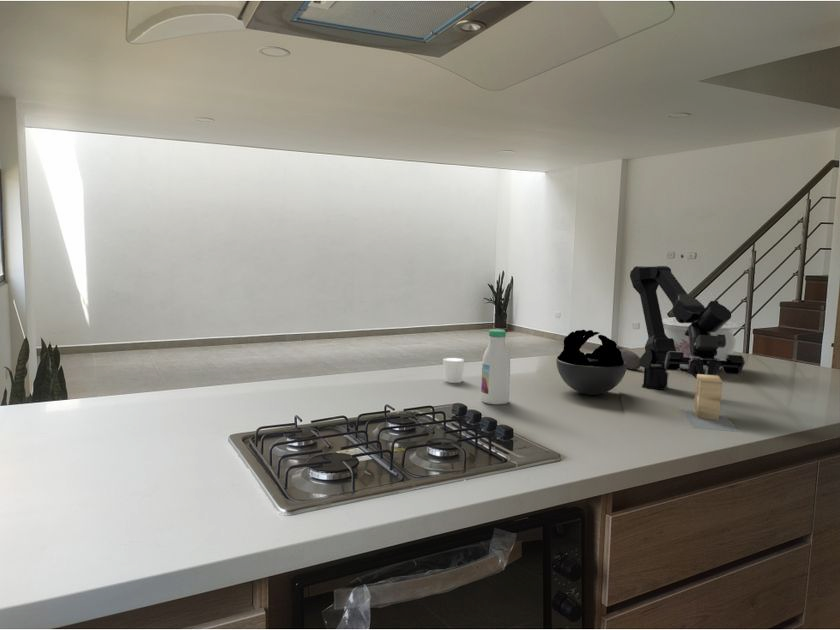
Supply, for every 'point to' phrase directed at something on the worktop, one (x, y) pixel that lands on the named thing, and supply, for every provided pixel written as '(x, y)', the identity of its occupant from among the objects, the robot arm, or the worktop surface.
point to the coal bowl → (590, 364)
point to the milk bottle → (496, 370)
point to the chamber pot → (682, 341)
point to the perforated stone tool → (630, 359)
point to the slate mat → (709, 422)
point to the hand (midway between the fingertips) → (706, 389)
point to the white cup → (453, 369)
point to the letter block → (707, 396)
